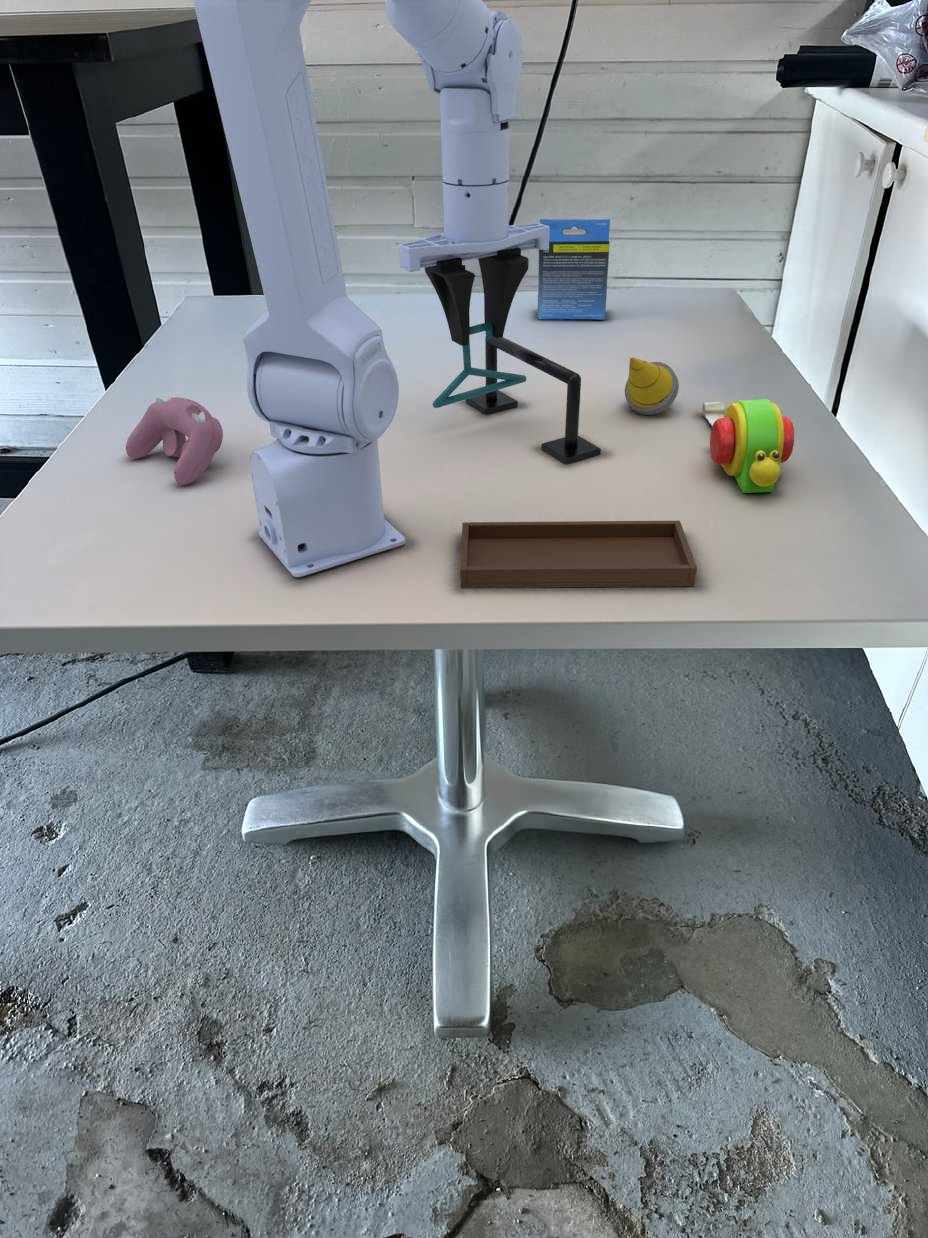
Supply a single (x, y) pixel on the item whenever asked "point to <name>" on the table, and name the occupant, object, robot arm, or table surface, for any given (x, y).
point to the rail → (495, 401)
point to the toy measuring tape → (750, 441)
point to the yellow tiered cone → (650, 386)
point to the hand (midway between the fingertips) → (477, 338)
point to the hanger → (476, 374)
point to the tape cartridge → (574, 270)
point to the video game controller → (178, 436)
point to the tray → (575, 554)
